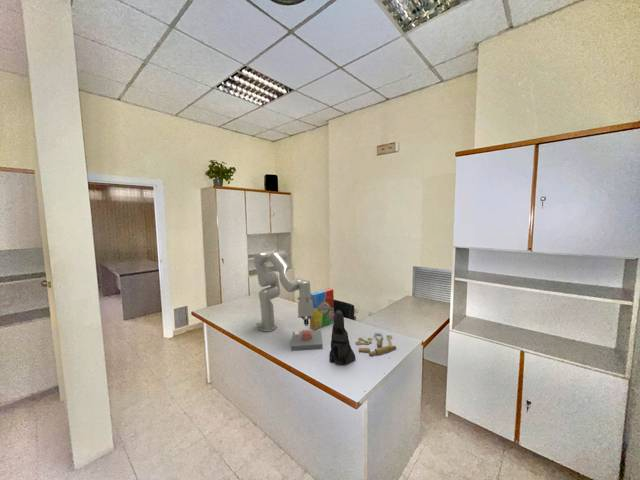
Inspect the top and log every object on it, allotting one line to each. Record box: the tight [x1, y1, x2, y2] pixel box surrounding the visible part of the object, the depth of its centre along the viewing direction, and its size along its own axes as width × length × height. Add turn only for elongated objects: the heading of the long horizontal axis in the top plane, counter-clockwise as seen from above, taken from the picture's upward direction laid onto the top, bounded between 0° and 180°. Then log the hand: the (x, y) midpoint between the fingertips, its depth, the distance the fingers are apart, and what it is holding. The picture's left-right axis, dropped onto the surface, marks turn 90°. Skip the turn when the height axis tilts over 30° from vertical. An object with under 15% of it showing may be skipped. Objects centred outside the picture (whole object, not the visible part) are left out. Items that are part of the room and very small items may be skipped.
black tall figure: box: [328, 309, 357, 366], centre depth 149 cm, size 14×14×30 cm
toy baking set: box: [354, 332, 397, 356], centre depth 167 cm, size 33×25×4 cm
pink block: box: [302, 329, 312, 340], centre depth 172 cm, size 6×6×7 cm
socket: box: [290, 329, 324, 351], centre depth 173 cm, size 20×20×4 cm
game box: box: [309, 287, 335, 331], centre depth 197 cm, size 21×6×27 cm, turn 129°
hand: (306, 325), depth 172 cm, fingers closed
